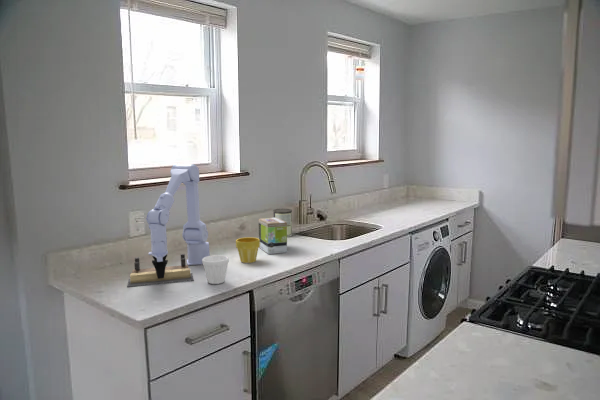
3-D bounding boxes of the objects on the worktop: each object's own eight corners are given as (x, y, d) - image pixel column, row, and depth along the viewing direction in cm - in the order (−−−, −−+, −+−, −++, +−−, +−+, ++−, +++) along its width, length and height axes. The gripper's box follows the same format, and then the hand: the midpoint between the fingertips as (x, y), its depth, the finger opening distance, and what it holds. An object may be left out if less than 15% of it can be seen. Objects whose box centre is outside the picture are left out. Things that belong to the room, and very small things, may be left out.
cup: (197, 282, 175) (196, 258, 174) (219, 276, 182) (218, 253, 181) (212, 288, 168) (211, 263, 167) (234, 282, 175) (234, 258, 174)
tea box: (287, 252, 218) (287, 221, 216) (267, 254, 215) (267, 223, 212) (277, 245, 232) (277, 216, 230) (258, 247, 228) (257, 218, 226)
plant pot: (246, 257, 211) (245, 236, 209) (264, 259, 206) (264, 238, 204) (231, 262, 202) (230, 240, 201) (250, 265, 197) (250, 243, 195)
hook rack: (187, 267, 195) (187, 253, 195) (189, 272, 188) (188, 258, 187) (132, 272, 189) (131, 257, 188) (131, 277, 181) (130, 263, 181)
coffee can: (269, 235, 256) (269, 209, 254) (284, 232, 263) (284, 207, 261) (281, 238, 248) (280, 212, 246) (296, 235, 255) (295, 210, 253)
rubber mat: (192, 274, 186) (192, 273, 186) (193, 280, 177) (193, 279, 177) (128, 279, 179) (128, 278, 179) (127, 287, 170) (127, 286, 170)
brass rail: (190, 275, 183) (189, 268, 182) (190, 277, 180) (190, 270, 179) (131, 281, 176) (130, 273, 176) (130, 283, 173) (130, 275, 173)
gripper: (148, 237, 181) (150, 270, 183) (147, 245, 168) (149, 282, 170) (166, 236, 184) (168, 269, 185) (167, 244, 170) (169, 280, 172)
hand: (160, 275), depth 178 cm, fingers open, 7 cm apart
